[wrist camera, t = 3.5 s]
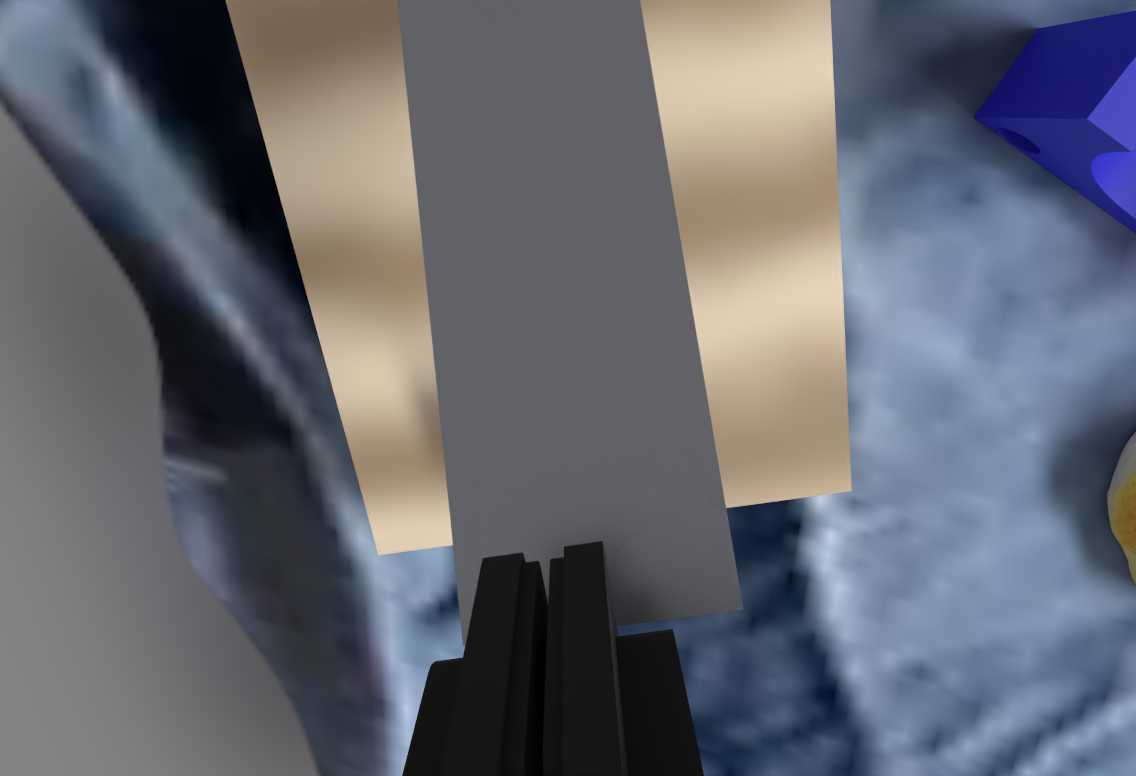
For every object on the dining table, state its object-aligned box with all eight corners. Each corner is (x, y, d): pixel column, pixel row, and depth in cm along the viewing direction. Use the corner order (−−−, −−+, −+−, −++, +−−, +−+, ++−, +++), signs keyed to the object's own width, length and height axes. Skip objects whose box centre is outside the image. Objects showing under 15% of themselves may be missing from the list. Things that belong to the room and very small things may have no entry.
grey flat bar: (402, -97, 19) (377, -163, 17) (609, -136, 18) (606, -208, 16) (479, 634, 15) (459, 647, 14) (732, 601, 15) (745, 611, 13)
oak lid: (241, -86, 23) (116, -161, 17) (788, -190, 22) (872, -312, 16) (397, 512, 29) (349, 619, 23) (824, 453, 28) (893, 549, 22)
